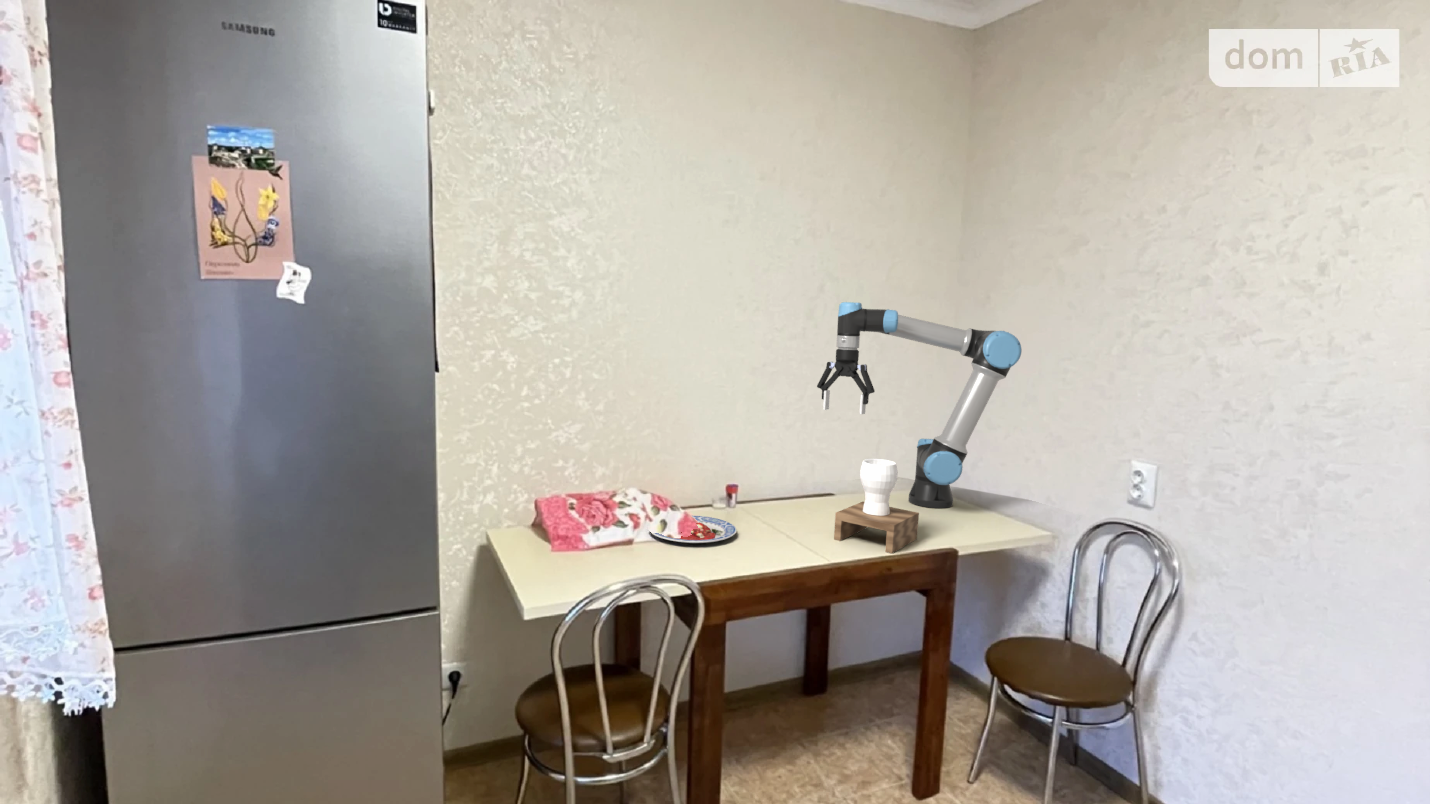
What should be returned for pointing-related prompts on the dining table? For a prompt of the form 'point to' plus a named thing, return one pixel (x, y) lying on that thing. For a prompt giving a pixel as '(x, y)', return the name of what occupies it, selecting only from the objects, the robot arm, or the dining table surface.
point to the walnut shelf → (878, 525)
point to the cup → (877, 485)
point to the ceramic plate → (706, 531)
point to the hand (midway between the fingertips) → (843, 411)
